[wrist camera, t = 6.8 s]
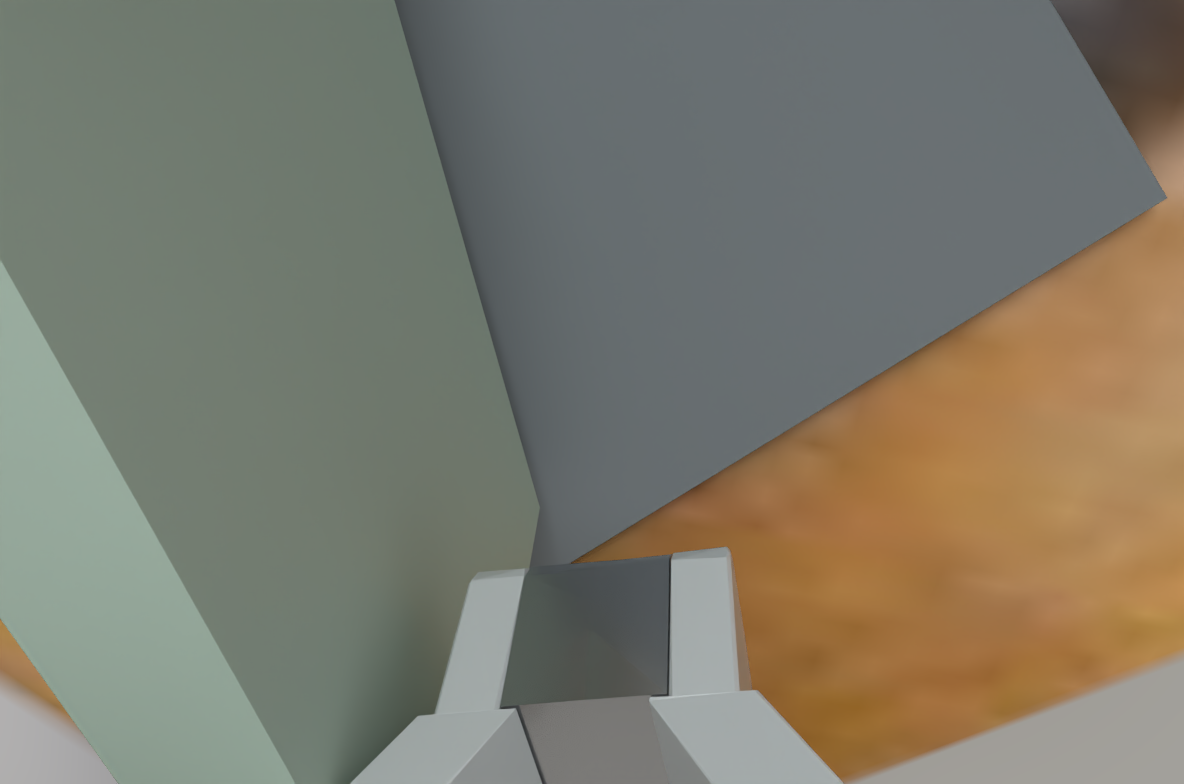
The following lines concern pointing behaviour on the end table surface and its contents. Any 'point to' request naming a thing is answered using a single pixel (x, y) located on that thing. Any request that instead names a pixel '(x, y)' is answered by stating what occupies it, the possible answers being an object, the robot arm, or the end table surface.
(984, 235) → the card
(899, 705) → the end table surface
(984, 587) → the end table surface
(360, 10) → the fence gate
